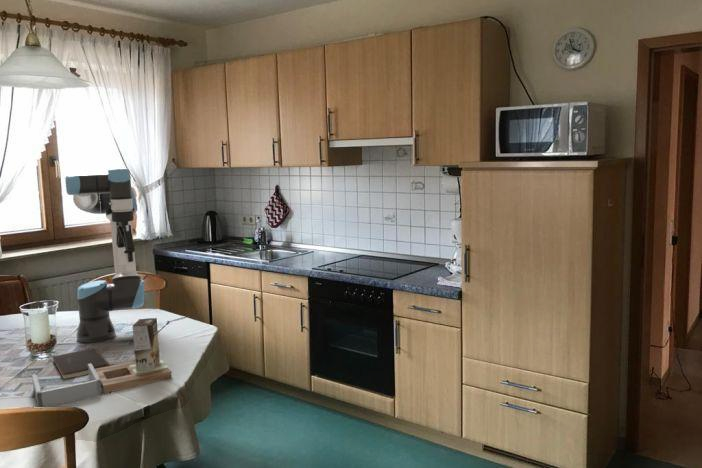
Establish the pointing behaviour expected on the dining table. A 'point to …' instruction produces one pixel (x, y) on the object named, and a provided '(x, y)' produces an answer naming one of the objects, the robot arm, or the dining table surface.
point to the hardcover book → (79, 362)
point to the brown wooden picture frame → (130, 375)
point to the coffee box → (146, 344)
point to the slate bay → (68, 390)
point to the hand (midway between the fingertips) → (126, 267)
